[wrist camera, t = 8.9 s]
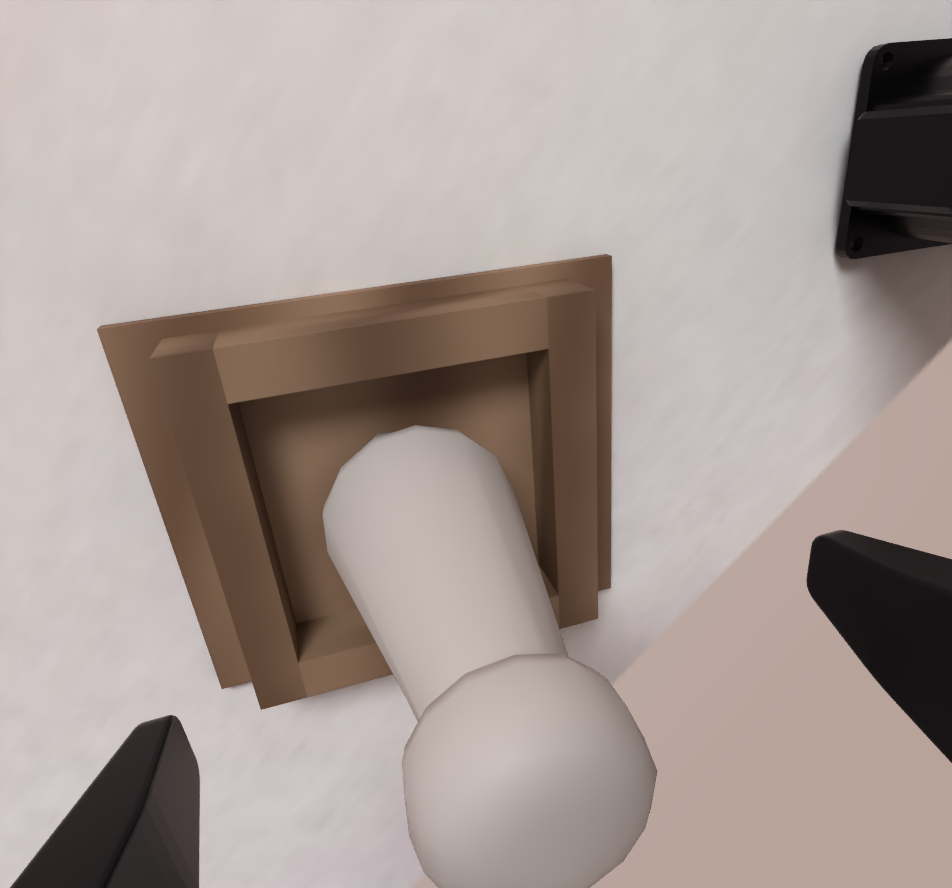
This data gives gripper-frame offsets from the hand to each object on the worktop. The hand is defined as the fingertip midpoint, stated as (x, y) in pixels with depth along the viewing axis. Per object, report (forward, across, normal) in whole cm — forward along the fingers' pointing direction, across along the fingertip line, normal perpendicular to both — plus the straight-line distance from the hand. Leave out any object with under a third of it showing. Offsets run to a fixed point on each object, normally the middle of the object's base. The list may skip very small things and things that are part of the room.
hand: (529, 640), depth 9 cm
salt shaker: (+13, 0, +4) cm, 13 cm away
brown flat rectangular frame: (+13, 0, +4) cm, 14 cm away
